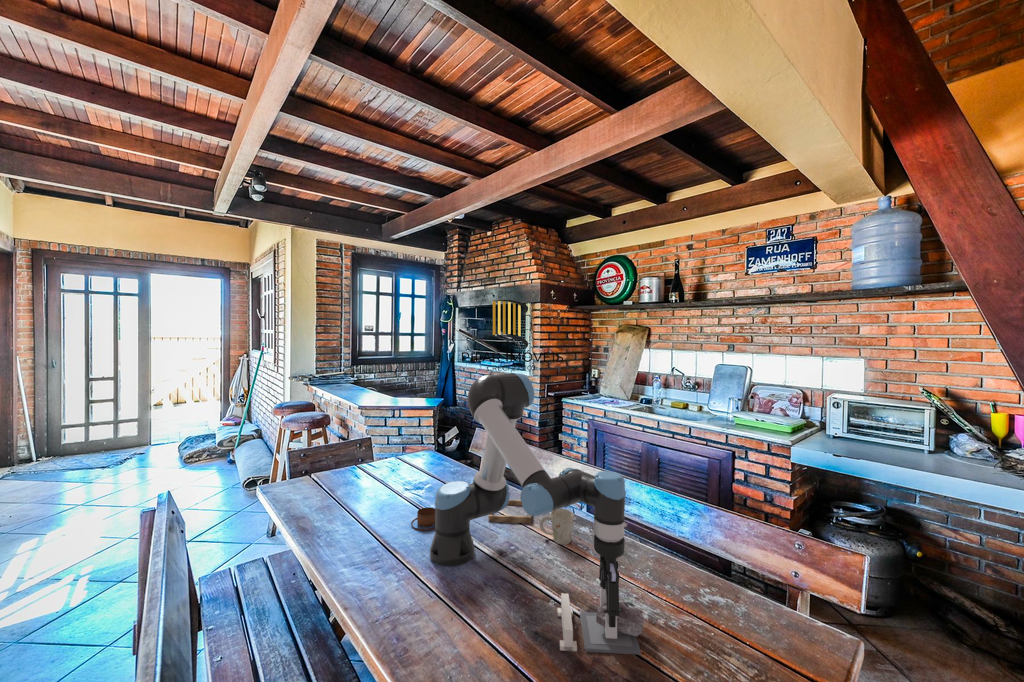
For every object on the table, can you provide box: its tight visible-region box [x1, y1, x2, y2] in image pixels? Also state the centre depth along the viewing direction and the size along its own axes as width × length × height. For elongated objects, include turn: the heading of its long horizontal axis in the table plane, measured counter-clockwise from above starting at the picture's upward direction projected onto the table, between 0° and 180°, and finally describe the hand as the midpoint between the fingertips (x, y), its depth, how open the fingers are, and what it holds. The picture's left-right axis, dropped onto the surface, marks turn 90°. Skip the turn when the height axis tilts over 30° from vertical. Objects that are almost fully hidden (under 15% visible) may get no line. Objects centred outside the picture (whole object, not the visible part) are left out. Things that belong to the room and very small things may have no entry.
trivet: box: [579, 611, 642, 656], centre depth 104 cm, size 13×13×1 cm
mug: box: [539, 508, 575, 545], centre depth 152 cm, size 8×13×10 cm, turn 78°
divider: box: [556, 592, 578, 652], centre depth 105 cm, size 4×14×5 cm, turn 176°
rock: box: [596, 600, 645, 637], centre depth 104 cm, size 8×11×5 cm
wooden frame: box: [488, 499, 532, 524], centre depth 173 cm, size 17×17×3 cm
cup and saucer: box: [410, 507, 435, 532], centre depth 162 cm, size 12×12×6 cm
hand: (608, 625), depth 104 cm, fingers closed on rock, 8 cm apart
